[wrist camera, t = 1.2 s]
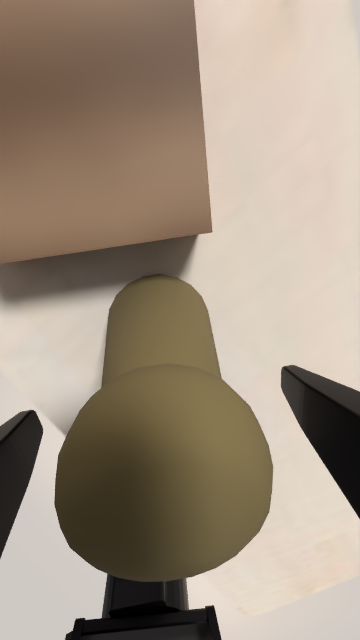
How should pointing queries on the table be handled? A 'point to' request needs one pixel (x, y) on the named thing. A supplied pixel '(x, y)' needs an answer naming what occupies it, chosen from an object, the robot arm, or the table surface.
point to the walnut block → (99, 126)
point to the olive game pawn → (162, 447)
